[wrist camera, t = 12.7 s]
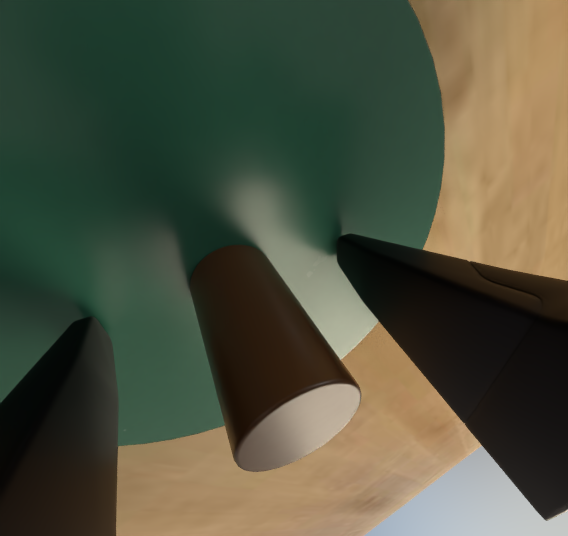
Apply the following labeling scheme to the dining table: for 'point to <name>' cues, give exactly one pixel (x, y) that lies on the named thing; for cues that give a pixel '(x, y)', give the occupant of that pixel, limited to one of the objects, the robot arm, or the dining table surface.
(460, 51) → the dining table surface
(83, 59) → the pot lid
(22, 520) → the robot arm
